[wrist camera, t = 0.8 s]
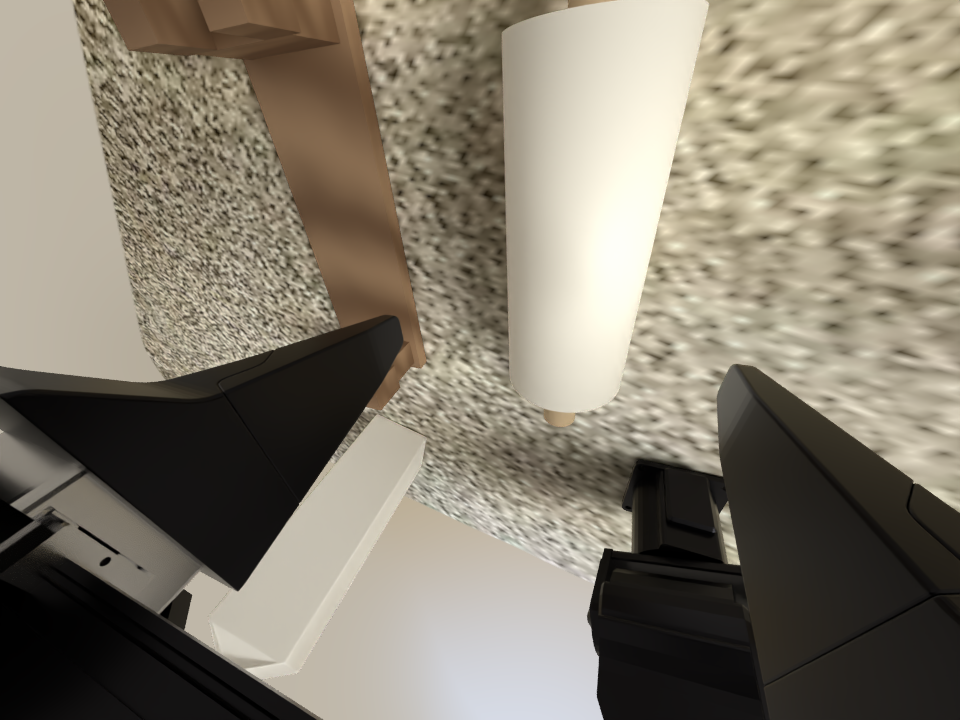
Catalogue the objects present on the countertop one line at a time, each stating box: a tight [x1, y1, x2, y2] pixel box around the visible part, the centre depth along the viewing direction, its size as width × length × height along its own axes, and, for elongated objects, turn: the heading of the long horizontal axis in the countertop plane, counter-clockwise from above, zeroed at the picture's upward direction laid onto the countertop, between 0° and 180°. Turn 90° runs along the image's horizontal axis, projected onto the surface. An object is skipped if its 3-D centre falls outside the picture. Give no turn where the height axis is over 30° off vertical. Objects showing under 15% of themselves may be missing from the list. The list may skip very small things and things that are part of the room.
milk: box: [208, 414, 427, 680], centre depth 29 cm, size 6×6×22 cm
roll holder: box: [103, 0, 427, 410], centre depth 20 cm, size 22×7×6 cm, turn 4°
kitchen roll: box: [502, 0, 709, 427], centre depth 16 cm, size 22×6×6 cm, turn 4°
